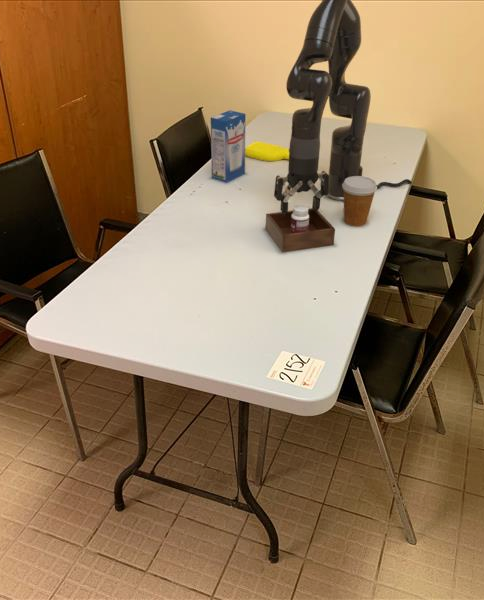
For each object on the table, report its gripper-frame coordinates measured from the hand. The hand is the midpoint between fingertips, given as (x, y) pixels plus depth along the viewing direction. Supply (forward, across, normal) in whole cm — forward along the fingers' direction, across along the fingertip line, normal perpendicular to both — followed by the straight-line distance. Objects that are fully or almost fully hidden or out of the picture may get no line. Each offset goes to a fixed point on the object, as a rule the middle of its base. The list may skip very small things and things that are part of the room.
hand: (299, 212), depth 159 cm
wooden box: (+8, 0, 0) cm, 8 cm away
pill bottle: (+7, 0, 0) cm, 7 cm away
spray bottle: (+7, +15, +58) cm, 60 cm away
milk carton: (+8, -7, +47) cm, 48 cm away
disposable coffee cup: (+8, +19, +5) cm, 21 cm away
